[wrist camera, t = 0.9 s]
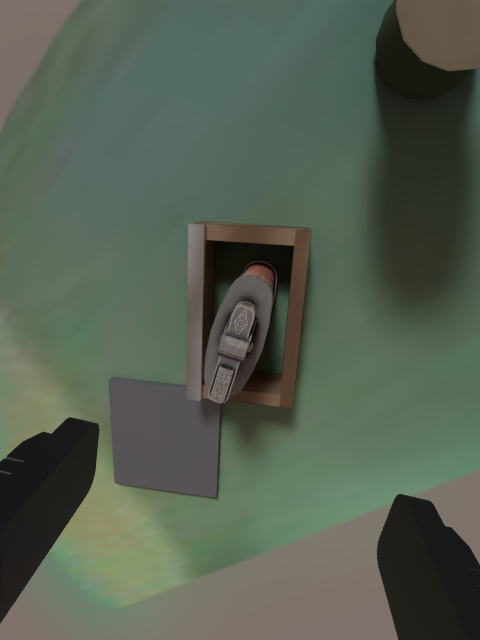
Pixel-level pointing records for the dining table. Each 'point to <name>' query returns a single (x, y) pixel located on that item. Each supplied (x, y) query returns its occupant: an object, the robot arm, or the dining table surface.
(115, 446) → the mat
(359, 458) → the dining table surface
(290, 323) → the holder
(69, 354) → the dining table surface
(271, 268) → the lighter
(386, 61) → the character mug
